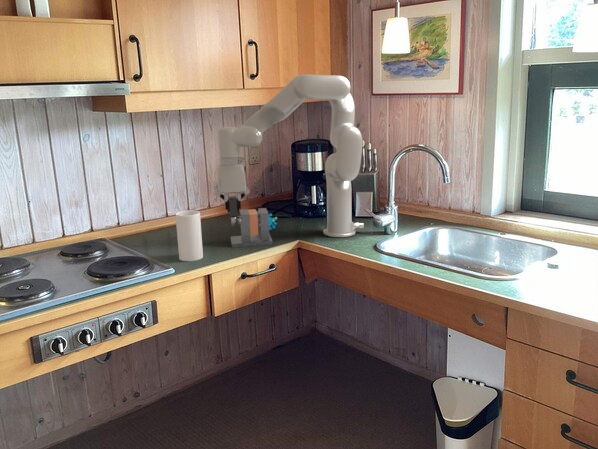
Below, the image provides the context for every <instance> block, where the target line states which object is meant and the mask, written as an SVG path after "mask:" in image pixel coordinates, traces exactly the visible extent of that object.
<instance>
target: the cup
mask: <svg viewBox="0 0 598 449" xmlns="http://www.w3.org/2000/svg"><path fill="white" fill-rule="evenodd" d="M201 221H202V220H201V212H200V211H199V210H197V209H196V210H195V209H191V210H190V209H188V210H181V211H178V212H176V213H175V226H176V235H177V250H178V258H179V260H180V261H183V262H195V261H199V260H201V259H203V258H204V252H203V251H204V250H203V238H202V223H201Z"/></svg>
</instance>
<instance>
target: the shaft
mask: <svg viewBox="0 0 598 449" xmlns="http://www.w3.org/2000/svg"><path fill="white" fill-rule="evenodd" d="M237 198H238V197H237V195H228V200H229V207H230V212H229V216H230V223H231V227H237V226H238V225H241V216H240V215H239V214H238V211H237ZM259 223H260V215H258V224H259Z"/></svg>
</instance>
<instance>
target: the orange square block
mask: <svg viewBox="0 0 598 449" xmlns="http://www.w3.org/2000/svg"><path fill="white" fill-rule="evenodd" d="M256 209H257V208H251V209H248V212H249V218H250V236H251V235H259V226H258V225H259V223H258V214H257V210H256Z"/></svg>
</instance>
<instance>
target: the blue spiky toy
mask: <svg viewBox="0 0 598 449" xmlns="http://www.w3.org/2000/svg"><path fill="white" fill-rule="evenodd" d="M256 211H257V210H256ZM257 214H258V211H257ZM277 220H278V217H277V216H275V217H273V214H272V213H269V232H271V231H272V230H275V229H276V226H277V224H278V223H277V222H276V221H277ZM258 227H259V224H258Z"/></svg>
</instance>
